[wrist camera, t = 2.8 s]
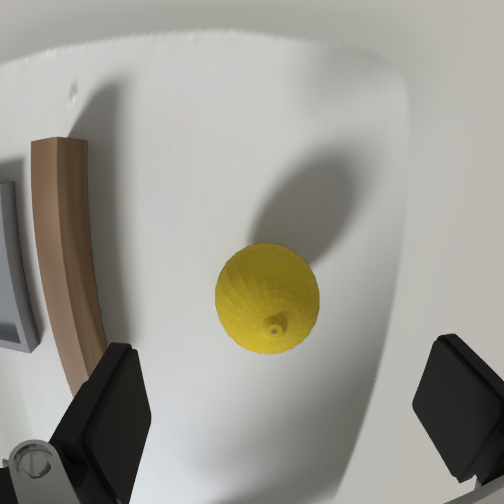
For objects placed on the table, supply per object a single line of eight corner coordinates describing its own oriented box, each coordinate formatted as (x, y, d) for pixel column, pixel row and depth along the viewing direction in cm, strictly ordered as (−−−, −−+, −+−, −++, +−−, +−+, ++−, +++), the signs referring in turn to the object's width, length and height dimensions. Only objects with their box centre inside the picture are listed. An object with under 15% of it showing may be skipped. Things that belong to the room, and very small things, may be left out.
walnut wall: (87, 140, 18) (57, 136, 14) (113, 374, 23) (97, 405, 19) (63, 143, 18) (31, 141, 14) (92, 371, 23) (74, 400, 19)
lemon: (274, 214, 20) (297, 243, 12) (317, 282, 21) (356, 342, 14) (202, 260, 21) (182, 316, 13) (249, 324, 22) (254, 399, 14)
